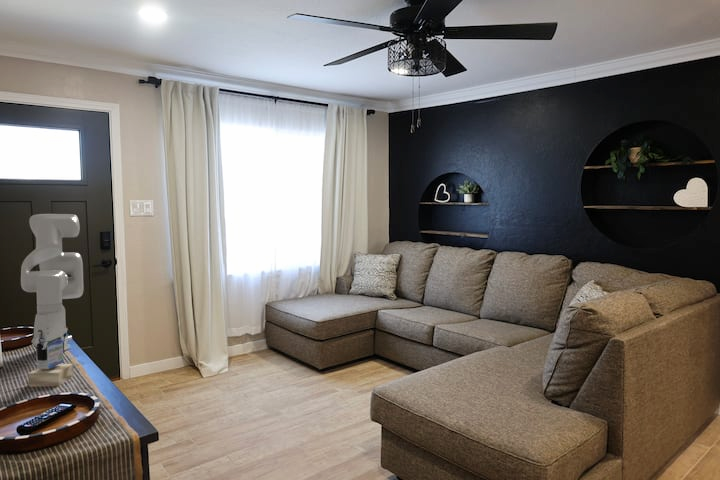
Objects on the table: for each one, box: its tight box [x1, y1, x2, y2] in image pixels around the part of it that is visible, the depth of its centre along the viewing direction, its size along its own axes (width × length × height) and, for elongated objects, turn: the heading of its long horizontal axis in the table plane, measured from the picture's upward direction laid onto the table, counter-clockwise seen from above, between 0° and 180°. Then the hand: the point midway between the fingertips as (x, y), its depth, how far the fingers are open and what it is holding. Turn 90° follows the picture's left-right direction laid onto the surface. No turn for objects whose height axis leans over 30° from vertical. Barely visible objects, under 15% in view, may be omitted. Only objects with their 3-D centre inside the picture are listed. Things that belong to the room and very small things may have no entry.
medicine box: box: [35, 339, 64, 369], centre depth 171 cm, size 8×4×9 cm, turn 175°
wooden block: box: [27, 363, 74, 388], centre depth 171 cm, size 10×10×5 cm
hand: (51, 356), depth 171 cm, fingers closed on medicine box, 8 cm apart
